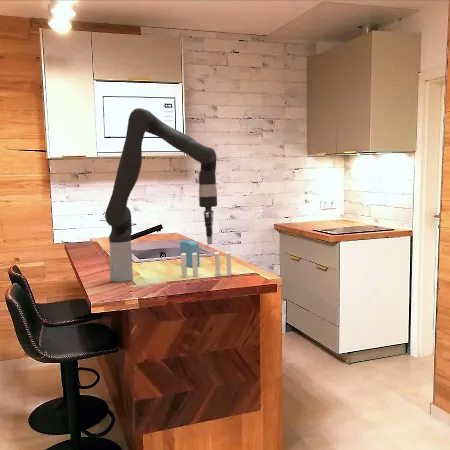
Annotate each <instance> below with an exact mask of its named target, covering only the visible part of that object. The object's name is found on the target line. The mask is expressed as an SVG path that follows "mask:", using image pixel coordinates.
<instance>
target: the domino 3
mask: <svg viewBox="0 0 450 450" xmlns="http://www.w3.org/2000/svg"><path fill="white" fill-rule="evenodd" d="M207 224H210V222H207ZM211 229H212V230H213V227H212V228H211ZM206 243H207V245H212V244H213V235H212V236H211V237H207V236H206Z"/></svg>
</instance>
